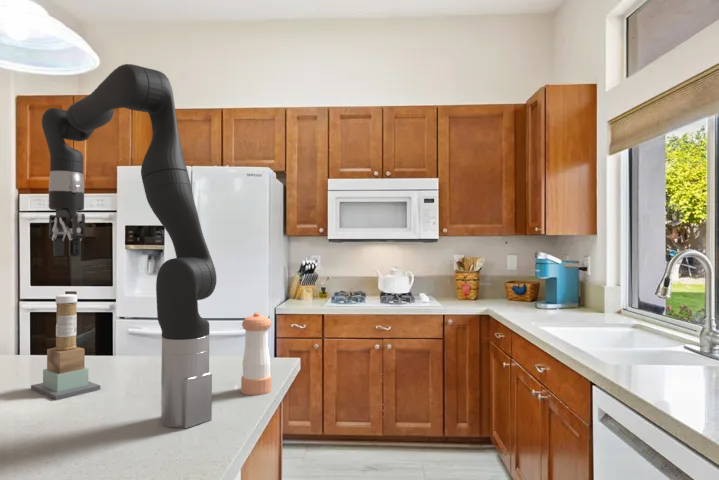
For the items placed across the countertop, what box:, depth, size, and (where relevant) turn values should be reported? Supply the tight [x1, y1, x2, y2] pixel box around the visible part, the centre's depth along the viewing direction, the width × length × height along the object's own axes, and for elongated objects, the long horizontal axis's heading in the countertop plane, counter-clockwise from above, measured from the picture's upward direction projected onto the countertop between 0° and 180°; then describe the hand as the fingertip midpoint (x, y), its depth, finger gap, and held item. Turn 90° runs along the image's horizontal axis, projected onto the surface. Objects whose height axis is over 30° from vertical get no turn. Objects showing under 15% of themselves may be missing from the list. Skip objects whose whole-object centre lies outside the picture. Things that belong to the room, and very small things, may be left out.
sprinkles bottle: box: [55, 293, 78, 350], centre depth 118 cm, size 5×5×14 cm
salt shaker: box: [240, 312, 273, 396], centre depth 118 cm, size 7×7×19 cm
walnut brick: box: [46, 346, 86, 374], centre depth 118 cm, size 7×6×5 cm
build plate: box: [30, 366, 101, 401], centre depth 118 cm, size 14×10×5 cm
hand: (66, 256), depth 119 cm, fingers open, 8 cm apart
